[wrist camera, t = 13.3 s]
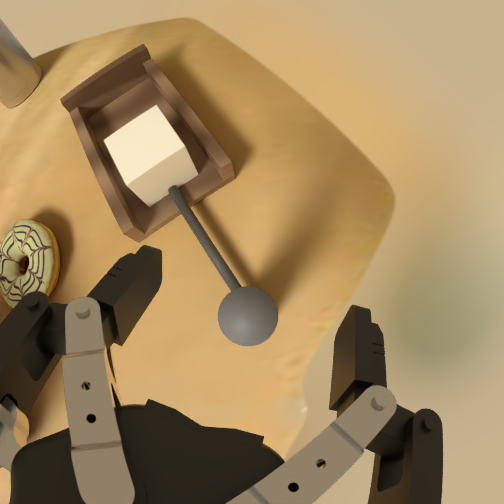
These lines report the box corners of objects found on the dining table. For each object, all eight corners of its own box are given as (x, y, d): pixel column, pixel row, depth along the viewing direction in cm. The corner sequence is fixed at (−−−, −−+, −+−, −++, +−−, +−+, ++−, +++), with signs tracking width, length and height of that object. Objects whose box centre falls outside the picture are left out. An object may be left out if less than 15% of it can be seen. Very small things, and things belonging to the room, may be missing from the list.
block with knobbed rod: (127, 166, 31) (84, 119, 22) (172, 136, 32) (143, 79, 22) (236, 347, 28) (223, 367, 18) (291, 311, 28) (306, 312, 18)
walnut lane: (81, 122, 34) (60, 99, 28) (156, 73, 35) (143, 43, 29) (139, 242, 31) (113, 228, 25) (235, 178, 32) (229, 151, 26)
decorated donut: (1, 287, 31) (-18, 284, 27) (28, 214, 33) (10, 205, 29) (47, 326, 30) (27, 327, 26) (78, 243, 31) (59, 236, 28)
